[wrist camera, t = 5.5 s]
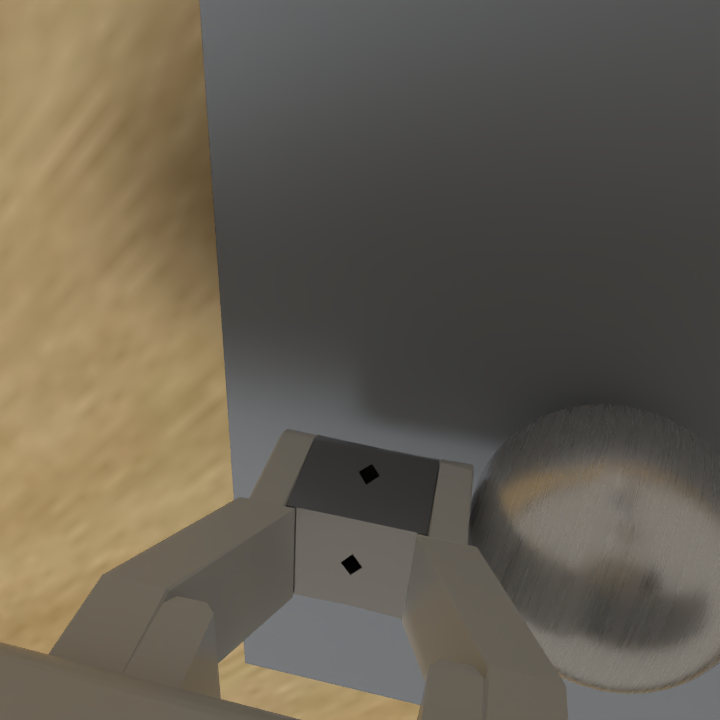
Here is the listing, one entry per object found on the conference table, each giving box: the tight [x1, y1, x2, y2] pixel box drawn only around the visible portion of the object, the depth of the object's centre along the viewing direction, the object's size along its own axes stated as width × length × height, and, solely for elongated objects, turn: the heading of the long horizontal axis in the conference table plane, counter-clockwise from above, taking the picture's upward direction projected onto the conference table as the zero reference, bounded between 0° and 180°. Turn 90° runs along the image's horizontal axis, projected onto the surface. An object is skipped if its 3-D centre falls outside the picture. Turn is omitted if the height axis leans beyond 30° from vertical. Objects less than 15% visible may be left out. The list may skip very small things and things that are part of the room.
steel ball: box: [467, 404, 720, 694], centre depth 9 cm, size 4×4×4 cm
